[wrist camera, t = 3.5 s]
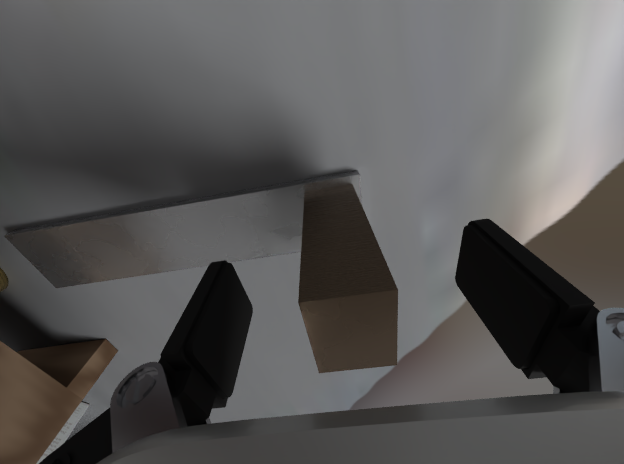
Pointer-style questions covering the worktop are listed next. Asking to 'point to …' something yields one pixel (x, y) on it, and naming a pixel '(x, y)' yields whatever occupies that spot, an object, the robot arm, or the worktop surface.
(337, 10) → the worktop surface
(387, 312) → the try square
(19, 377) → the cabinet
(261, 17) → the worktop surface
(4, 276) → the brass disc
